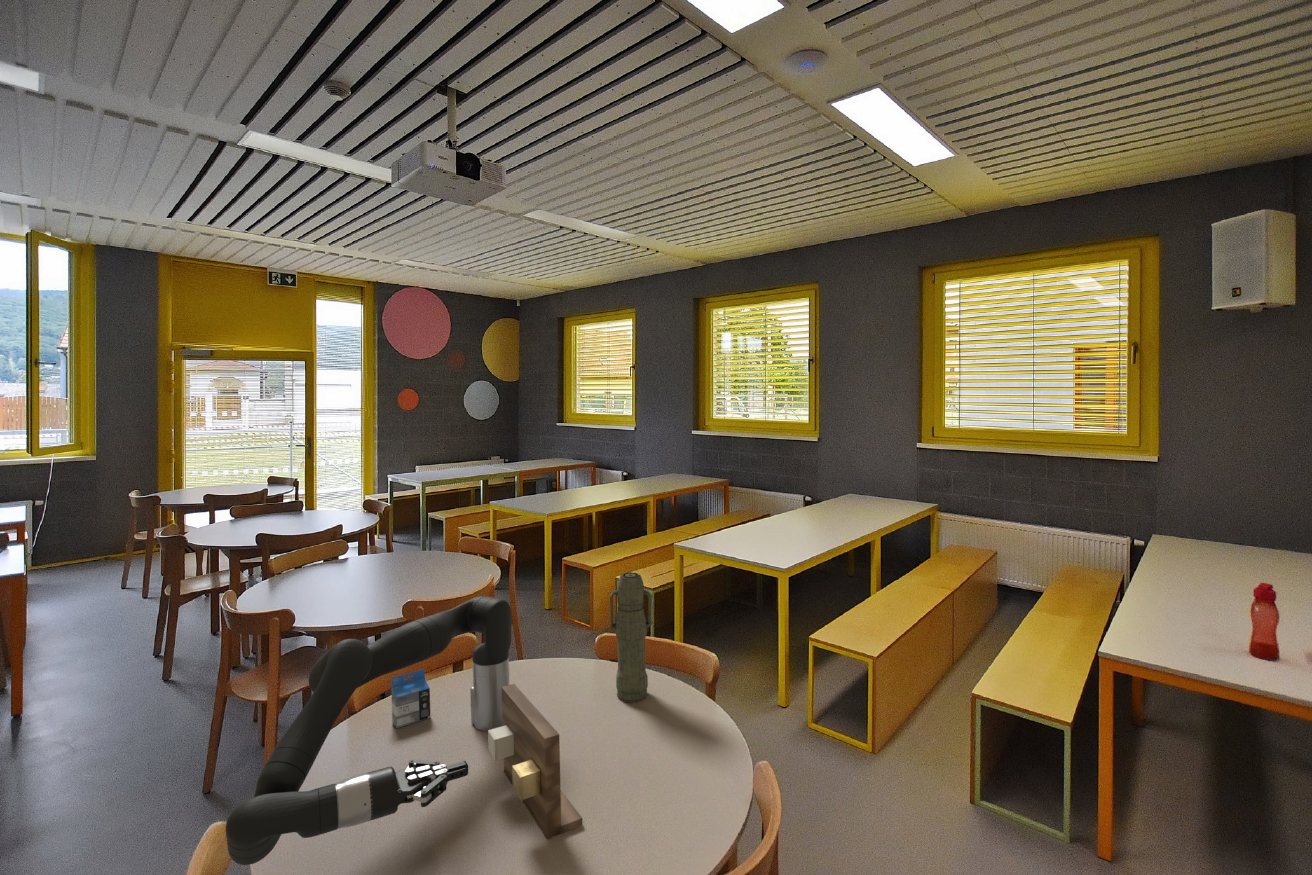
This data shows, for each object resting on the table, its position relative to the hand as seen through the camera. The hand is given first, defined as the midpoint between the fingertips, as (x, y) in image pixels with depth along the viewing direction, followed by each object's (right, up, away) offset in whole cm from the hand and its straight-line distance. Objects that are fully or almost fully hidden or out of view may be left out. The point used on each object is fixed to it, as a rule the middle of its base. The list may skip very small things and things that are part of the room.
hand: (467, 767), depth 119 cm
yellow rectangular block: (+11, -8, +7) cm, 16 cm away
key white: (+3, -7, +21) cm, 22 cm away
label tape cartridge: (-30, -14, +50) cm, 60 cm away
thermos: (+29, -12, +63) cm, 70 cm away
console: (+11, -15, +17) cm, 25 cm away
